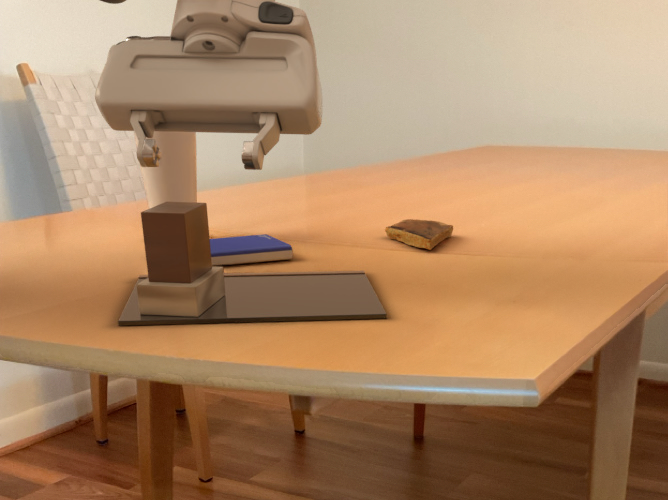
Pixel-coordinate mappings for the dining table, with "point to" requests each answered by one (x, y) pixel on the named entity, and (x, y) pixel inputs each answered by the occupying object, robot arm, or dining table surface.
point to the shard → (419, 232)
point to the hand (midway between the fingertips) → (198, 164)
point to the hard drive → (248, 250)
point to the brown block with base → (178, 262)
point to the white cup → (172, 169)
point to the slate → (277, 299)
